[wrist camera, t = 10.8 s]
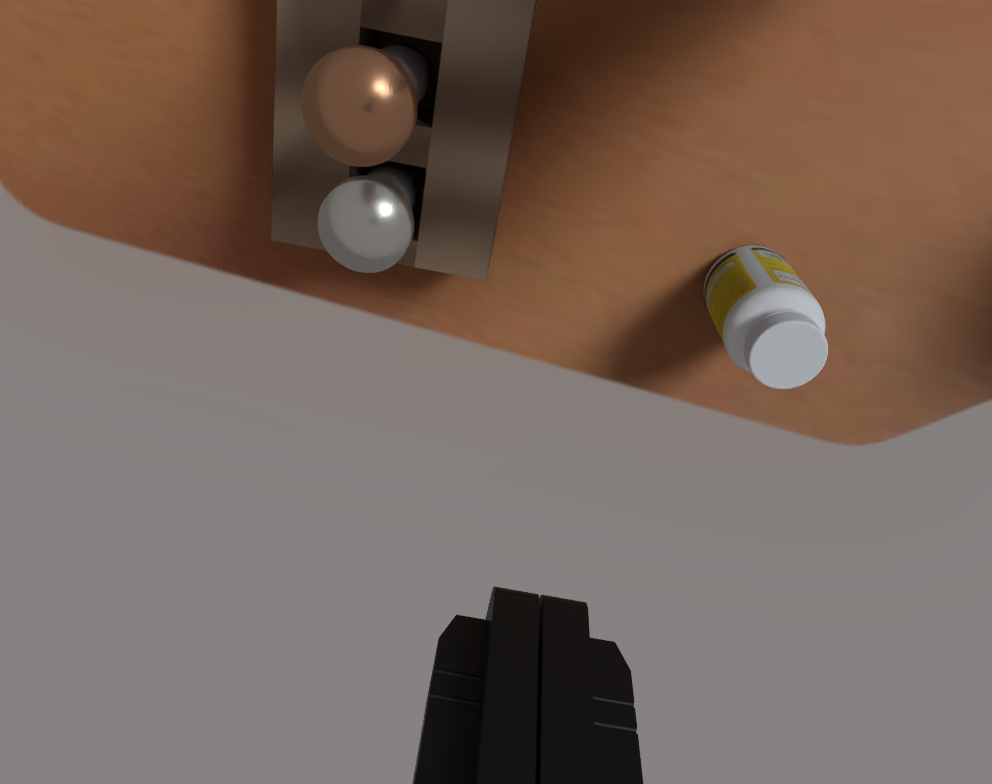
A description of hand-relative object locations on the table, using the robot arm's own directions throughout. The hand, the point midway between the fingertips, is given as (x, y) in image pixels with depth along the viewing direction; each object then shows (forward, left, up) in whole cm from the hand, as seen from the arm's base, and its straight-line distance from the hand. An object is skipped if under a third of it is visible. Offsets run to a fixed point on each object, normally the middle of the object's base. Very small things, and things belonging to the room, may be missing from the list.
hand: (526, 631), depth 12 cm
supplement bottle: (+6, +14, -37) cm, 40 cm away
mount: (-3, -8, -37) cm, 38 cm away
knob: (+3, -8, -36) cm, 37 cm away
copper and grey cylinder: (-3, -8, -32) cm, 34 cm away
